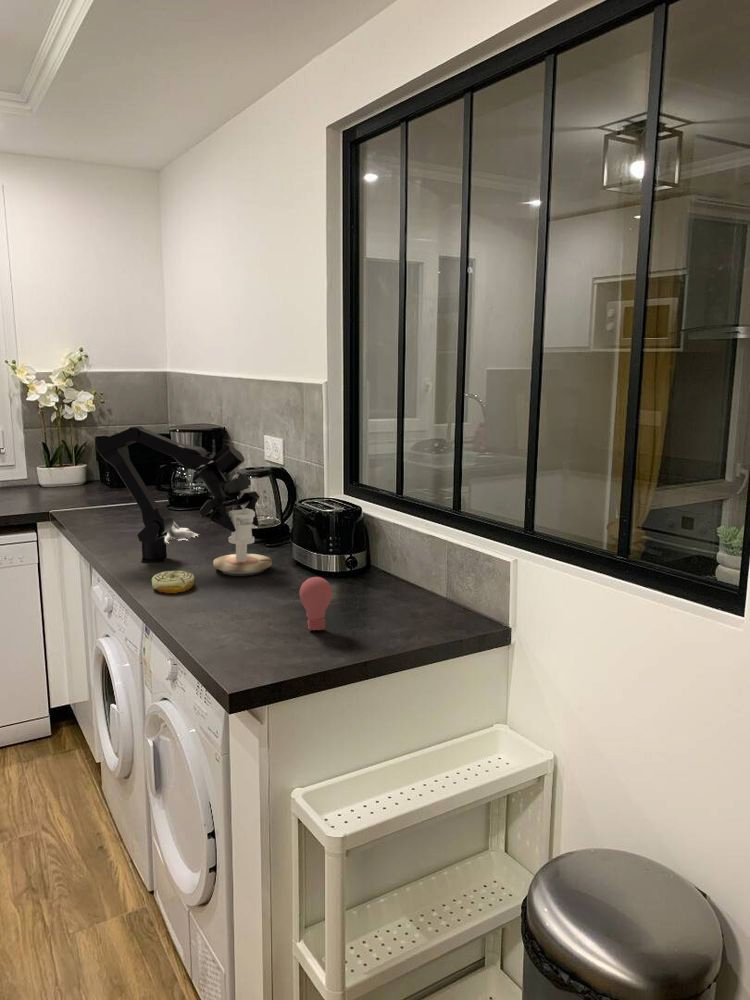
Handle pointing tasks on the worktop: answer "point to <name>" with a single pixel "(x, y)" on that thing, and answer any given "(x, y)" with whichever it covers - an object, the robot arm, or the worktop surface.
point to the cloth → (179, 533)
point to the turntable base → (242, 573)
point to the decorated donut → (173, 581)
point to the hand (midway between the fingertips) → (246, 528)
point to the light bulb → (315, 601)
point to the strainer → (242, 532)
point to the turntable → (242, 563)
